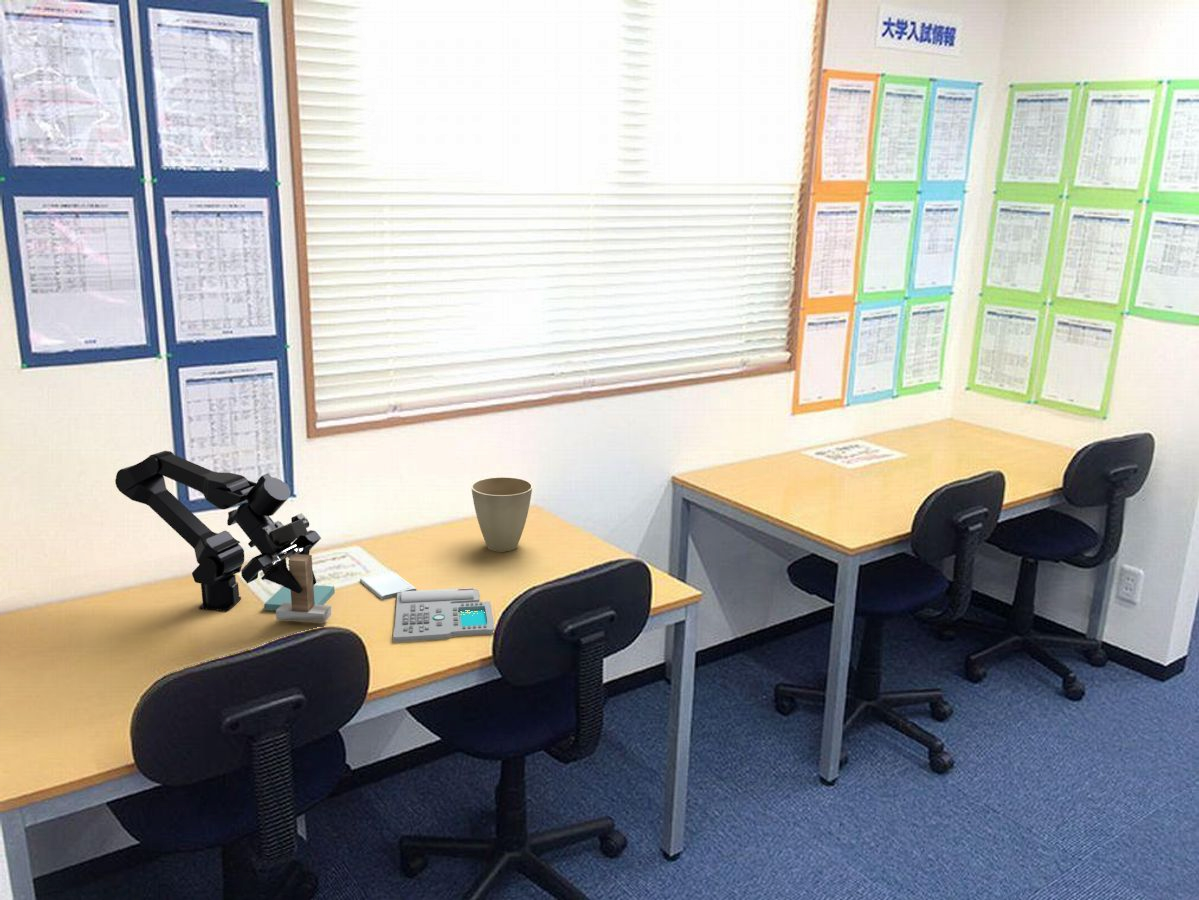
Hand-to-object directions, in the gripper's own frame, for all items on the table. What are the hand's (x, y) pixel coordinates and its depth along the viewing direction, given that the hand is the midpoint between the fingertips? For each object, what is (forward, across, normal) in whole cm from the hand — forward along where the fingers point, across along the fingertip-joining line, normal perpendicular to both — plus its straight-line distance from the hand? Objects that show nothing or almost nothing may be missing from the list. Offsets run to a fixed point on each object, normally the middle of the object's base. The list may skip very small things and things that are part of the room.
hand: (307, 588), depth 201 cm
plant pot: (+16, +56, -5) cm, 58 cm away
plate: (-1, +8, +12) cm, 14 cm away
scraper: (+4, 0, +6) cm, 7 cm away
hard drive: (+9, +23, +4) cm, 25 cm away
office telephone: (+22, +15, -10) cm, 28 cm away
